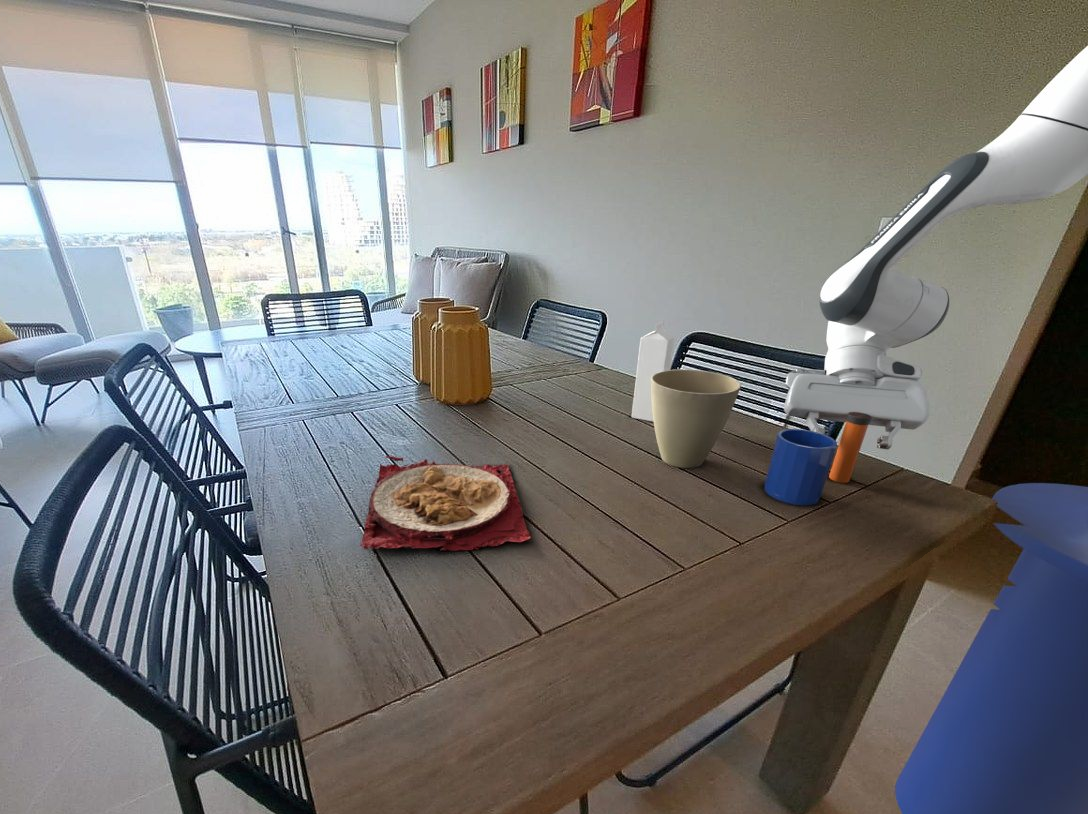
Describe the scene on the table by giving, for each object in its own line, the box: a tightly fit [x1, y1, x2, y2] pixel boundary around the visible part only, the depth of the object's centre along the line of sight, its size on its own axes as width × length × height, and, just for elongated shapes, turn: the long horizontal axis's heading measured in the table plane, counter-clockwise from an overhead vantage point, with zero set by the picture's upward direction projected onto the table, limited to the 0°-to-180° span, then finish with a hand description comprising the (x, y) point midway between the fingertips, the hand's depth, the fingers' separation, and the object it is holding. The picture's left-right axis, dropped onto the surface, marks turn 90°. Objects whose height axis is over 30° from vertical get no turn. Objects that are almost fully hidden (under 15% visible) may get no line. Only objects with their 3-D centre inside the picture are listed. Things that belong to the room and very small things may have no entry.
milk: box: [631, 320, 676, 423], centre depth 109 cm, size 6×6×22 cm
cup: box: [763, 428, 838, 506], centre depth 78 cm, size 8×8×10 cm
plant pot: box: [651, 368, 742, 469], centre depth 89 cm, size 15×15×16 cm
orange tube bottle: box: [828, 412, 872, 484], centre depth 82 cm, size 3×3×12 cm
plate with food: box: [359, 455, 532, 552], centre depth 77 cm, size 24×26×4 cm
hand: (850, 443), depth 81 cm, fingers open, 8 cm apart
